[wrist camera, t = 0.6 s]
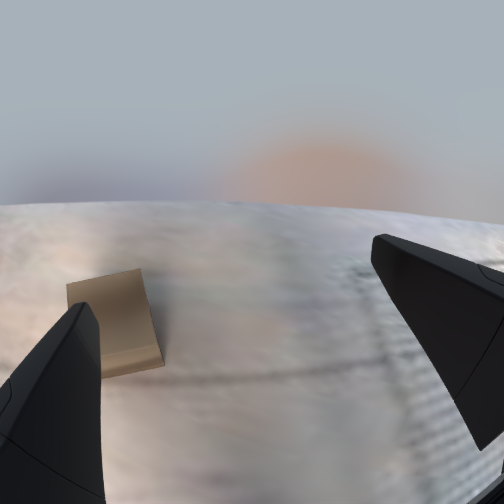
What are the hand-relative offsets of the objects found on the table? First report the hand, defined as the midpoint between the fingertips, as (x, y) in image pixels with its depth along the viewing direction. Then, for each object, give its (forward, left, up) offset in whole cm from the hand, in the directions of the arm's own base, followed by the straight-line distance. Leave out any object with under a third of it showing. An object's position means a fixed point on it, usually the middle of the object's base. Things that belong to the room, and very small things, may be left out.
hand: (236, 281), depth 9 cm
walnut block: (+3, +6, -14) cm, 15 cm away
